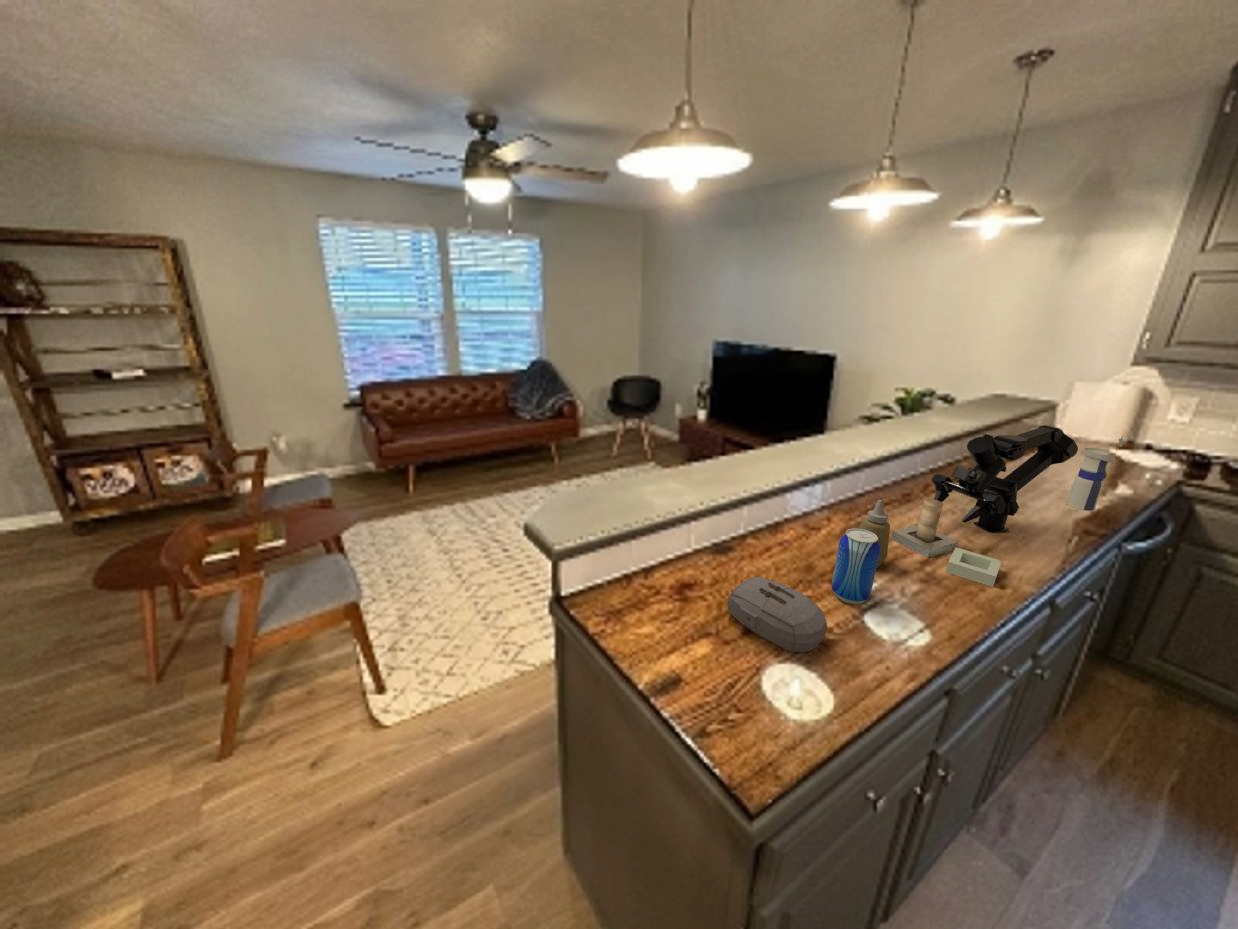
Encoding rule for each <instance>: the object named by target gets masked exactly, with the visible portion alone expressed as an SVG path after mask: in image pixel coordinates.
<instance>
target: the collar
mask: <svg viewBox="0 0 1238 929" xmlns="http://www.w3.org/2000/svg"><path fill="white" fill-rule="evenodd" d="M1001 564H1002V560H1000V559H997V558H994V557H990V556H987V555H983V554H980V553H977V552H973V551H969V550H966V549H963V548H960V547H957V548H955V550H954V551H952V554H951V555H950V557H949V560H948V562H947V565H946V570H945V573H948V574H951V575H954V576H957V577H960V578H963V579H966V580H969V581H972V582H975V583H979V584H981V583H982V585H984V584H985V585H984V586H989V587H992V588H994V586H995V582H996V580H997V577H998V576H997V575H998V574H999V570H1000V567H1001Z"/></svg>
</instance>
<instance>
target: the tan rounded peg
mask: <svg viewBox="0 0 1238 929" xmlns="http://www.w3.org/2000/svg"><path fill="white" fill-rule="evenodd" d="M943 506H944V503H943V502H940V501H937V500H934V498H933V499H932V498H926V499H925V498H924V501H923V504H922V507H921V511H920V516H919V520H918V523H917V525H918V528H917V532H916V536H915V538H917V539H919V540H921V541H923V542H925V543H927V544H928V543H932V542H933V541H934V538H935V534H936V532H937V529H938V525H939V523H940V518H941V515H942V511H943Z"/></svg>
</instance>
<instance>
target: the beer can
mask: <svg viewBox="0 0 1238 929" xmlns="http://www.w3.org/2000/svg"><path fill="white" fill-rule="evenodd" d="M838 543H839V544H838V547H837V554H836V560H835V565H834V568H833V569H834V570H833V574H832V581H831V585H830V586H831V588H830V589H831V590H832V592H833V595H834V596H835V597H836V598H837V599H838V600H840V601H842V602H844V603H846V604H852V605H861V604H864V603H865V602H866V601H868V600H869V599H871V594H872V590H873V586H874V581H875V577H876V576H875V575H876V571H877V563H878V559H879V554H880V549H881V548H880V545H879V543H878V537H877V536H876V535H875V534H874V533H872V532H870V531H867V530H864V529H860V528H856V527H855V528H850V529H849V528H848V529H846V531H845V534H844V535H843V536H841V537H840V539H839V542H838Z"/></svg>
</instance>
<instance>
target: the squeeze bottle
mask: <svg viewBox="0 0 1238 929" xmlns="http://www.w3.org/2000/svg"><path fill="white" fill-rule="evenodd" d="M884 506H885V503H884V500H883V499H878V500H877V502H876V504H875V506H874V508H873V509H870V510H868V511H867V515H866V517H864V518H863V519H862V520H861V523H860V527H859V529H864V530H867V531H870V532H872V533H874V534H875V535H876V536H877V537H878V543H879V545H880V548H881V549H880V554H879V559H878V563H877V568H878V569H879V567H881V565H882V564H883V563H884V562H885V560H886V558H887V557H888V551H889V541H890V532H891V531H890V530H891V524H890V523H889V522H888V519H889V515H888V513H886V512H885V507H884ZM877 568H876V569H877Z"/></svg>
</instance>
